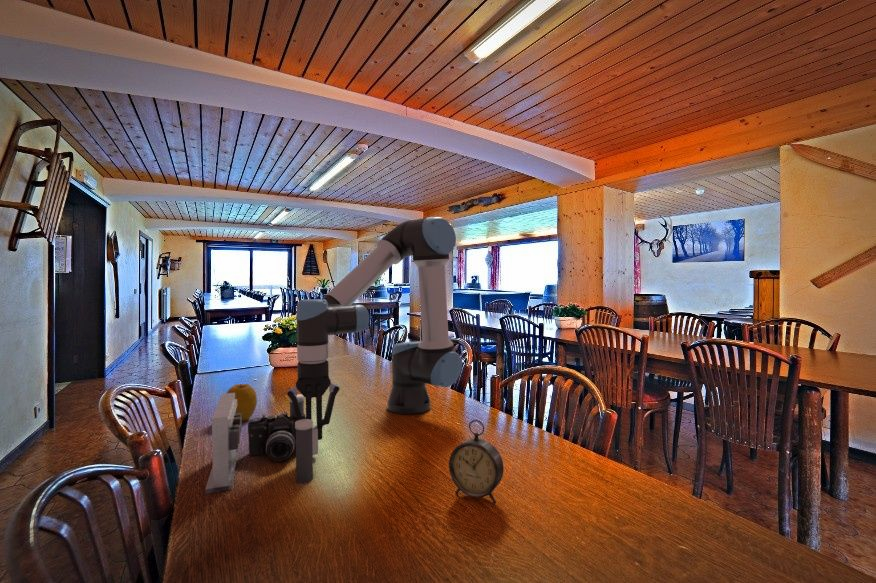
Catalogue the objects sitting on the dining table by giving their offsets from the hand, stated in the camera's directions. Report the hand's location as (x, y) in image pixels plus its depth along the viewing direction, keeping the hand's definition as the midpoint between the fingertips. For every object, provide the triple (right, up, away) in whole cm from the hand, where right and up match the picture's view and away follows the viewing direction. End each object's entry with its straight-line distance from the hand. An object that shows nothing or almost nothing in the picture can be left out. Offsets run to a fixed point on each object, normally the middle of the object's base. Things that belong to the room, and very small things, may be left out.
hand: (314, 452), depth 107 cm
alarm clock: (+40, -2, -19) cm, 44 cm away
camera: (-10, -2, +1) cm, 10 cm away
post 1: (-7, -1, +9) cm, 11 cm away
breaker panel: (-19, -2, -8) cm, 20 cm away
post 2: (+1, -2, -12) cm, 12 cm away
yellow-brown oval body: (-32, -1, +28) cm, 43 cm away
